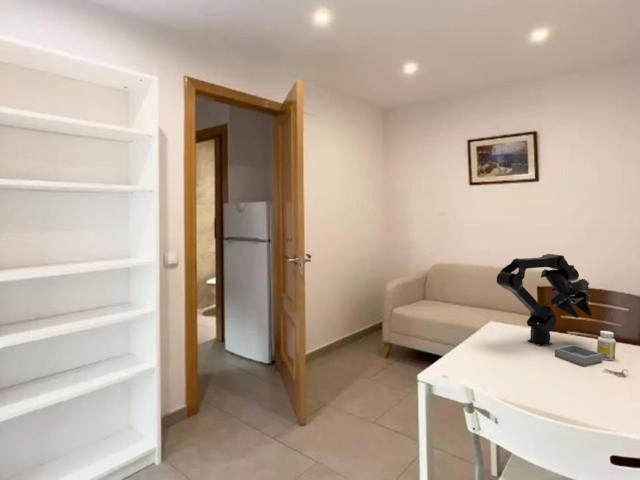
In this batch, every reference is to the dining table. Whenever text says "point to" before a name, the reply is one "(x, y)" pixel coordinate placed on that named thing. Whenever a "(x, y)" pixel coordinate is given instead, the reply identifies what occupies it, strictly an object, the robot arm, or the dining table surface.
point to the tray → (578, 355)
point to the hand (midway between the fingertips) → (584, 316)
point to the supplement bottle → (606, 345)
